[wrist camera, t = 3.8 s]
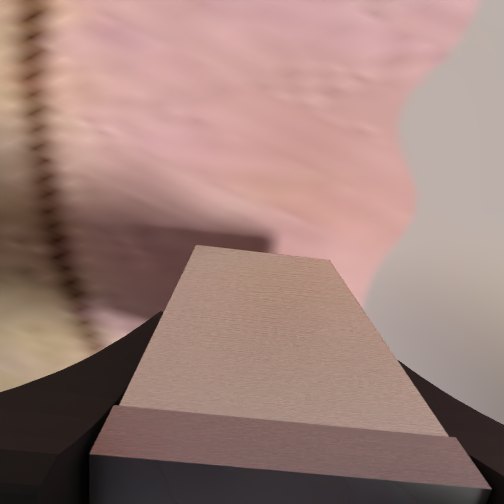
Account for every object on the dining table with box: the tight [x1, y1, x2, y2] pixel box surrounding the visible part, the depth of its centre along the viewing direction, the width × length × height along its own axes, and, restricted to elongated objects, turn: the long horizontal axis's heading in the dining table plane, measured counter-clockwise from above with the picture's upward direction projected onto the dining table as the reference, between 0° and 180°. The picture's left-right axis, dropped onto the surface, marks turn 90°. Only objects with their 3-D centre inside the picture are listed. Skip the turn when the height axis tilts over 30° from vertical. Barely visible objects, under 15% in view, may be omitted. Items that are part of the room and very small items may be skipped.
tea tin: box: [89, 245, 492, 504], centre depth 9 cm, size 5×5×9 cm
